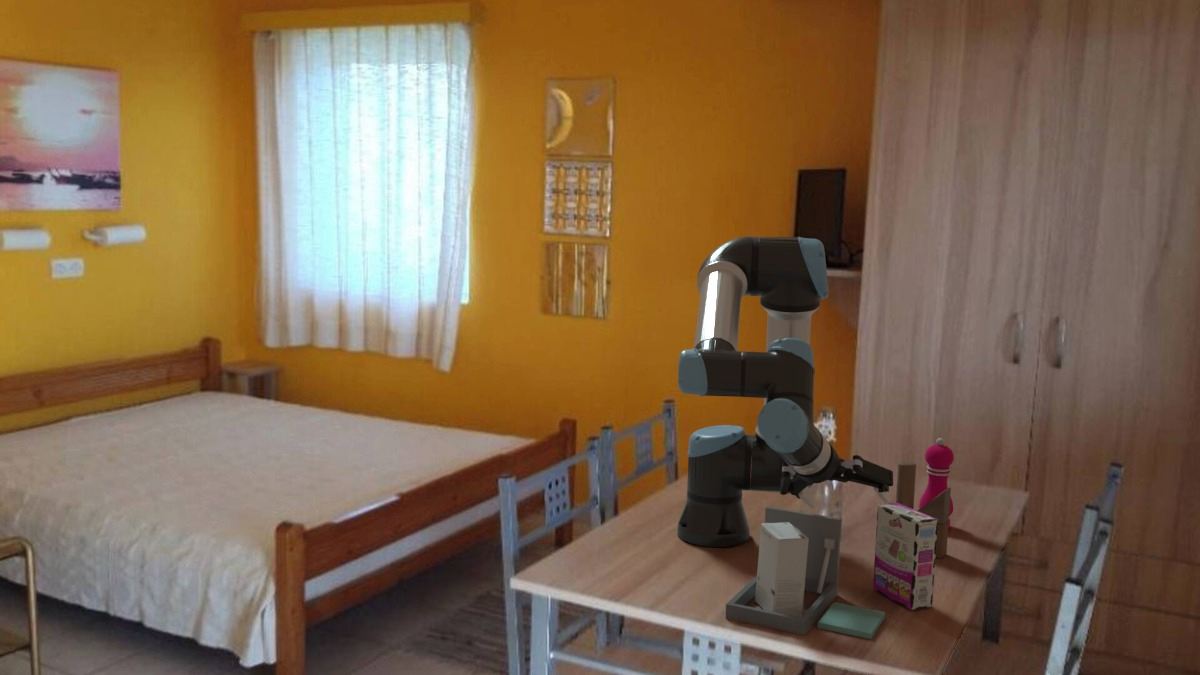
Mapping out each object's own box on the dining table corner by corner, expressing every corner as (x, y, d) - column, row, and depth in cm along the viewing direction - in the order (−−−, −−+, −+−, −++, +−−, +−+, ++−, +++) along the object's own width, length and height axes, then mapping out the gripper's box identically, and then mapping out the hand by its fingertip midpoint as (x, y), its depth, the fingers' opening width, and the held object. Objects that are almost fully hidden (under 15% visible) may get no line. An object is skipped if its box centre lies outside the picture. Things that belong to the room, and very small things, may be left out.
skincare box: (754, 602, 189) (757, 522, 186) (785, 599, 190) (789, 520, 188) (773, 621, 181) (777, 537, 178) (805, 618, 182) (809, 535, 180)
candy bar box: (934, 607, 188) (940, 518, 185) (911, 612, 186) (917, 522, 183) (892, 585, 198) (898, 501, 195) (871, 589, 196) (876, 503, 193)
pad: (817, 627, 178) (817, 622, 178) (833, 607, 187) (834, 602, 187) (870, 639, 174) (871, 633, 174) (884, 617, 183) (885, 612, 183)
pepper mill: (916, 529, 231) (921, 439, 228) (919, 519, 237) (924, 432, 234) (950, 533, 228) (956, 443, 225) (953, 523, 235) (959, 436, 232)
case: (725, 617, 182) (728, 536, 180) (764, 580, 199) (767, 506, 197) (804, 635, 175) (808, 551, 173) (837, 595, 193) (841, 518, 191)
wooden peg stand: (940, 559, 212) (946, 472, 210) (889, 547, 219) (894, 463, 216) (947, 554, 215) (952, 468, 213) (896, 542, 222) (901, 459, 219)
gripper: (738, 482, 179) (782, 522, 195) (885, 469, 167) (919, 513, 183) (740, 441, 183) (783, 483, 199) (884, 426, 171) (917, 472, 187)
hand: (848, 497), depth 191 cm, fingers open, 13 cm apart
